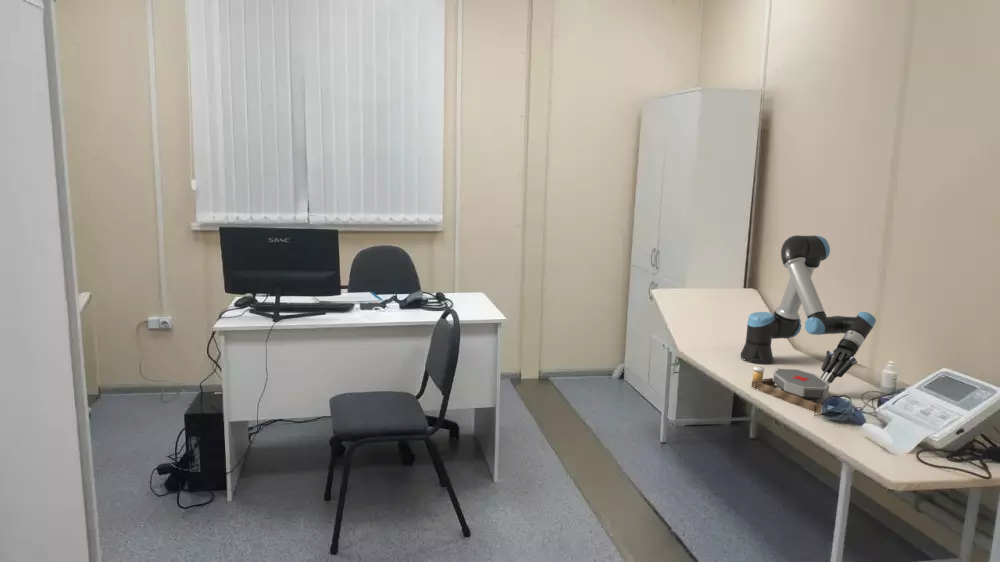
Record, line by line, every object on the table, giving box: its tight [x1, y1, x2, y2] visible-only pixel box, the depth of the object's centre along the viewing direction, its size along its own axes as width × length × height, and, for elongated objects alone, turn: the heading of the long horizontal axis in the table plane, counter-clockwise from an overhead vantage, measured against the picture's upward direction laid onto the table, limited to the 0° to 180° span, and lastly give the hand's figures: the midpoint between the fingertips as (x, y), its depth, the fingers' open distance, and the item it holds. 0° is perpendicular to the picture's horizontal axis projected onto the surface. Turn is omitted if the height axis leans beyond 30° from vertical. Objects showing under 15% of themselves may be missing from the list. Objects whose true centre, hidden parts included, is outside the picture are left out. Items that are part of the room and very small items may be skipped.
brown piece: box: [750, 377, 823, 414], centre depth 266 cm, size 33×12×3 cm, turn 28°
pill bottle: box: [752, 366, 765, 381], centre depth 283 cm, size 4×4×7 cm
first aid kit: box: [772, 368, 830, 402], centre depth 271 cm, size 18×8×25 cm
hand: (821, 386), depth 273 cm, fingers closed
